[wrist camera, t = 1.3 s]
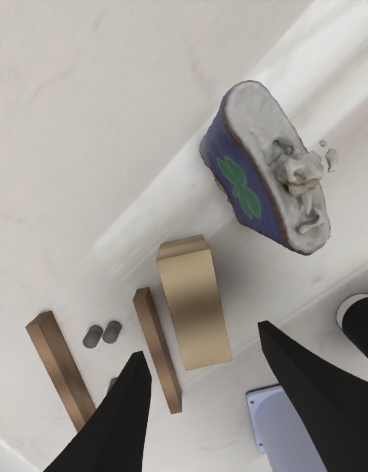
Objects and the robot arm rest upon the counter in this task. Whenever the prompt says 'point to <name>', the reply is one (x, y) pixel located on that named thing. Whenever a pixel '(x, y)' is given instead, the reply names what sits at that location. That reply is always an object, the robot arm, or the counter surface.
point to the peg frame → (62, 363)
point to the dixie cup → (355, 320)
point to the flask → (268, 169)
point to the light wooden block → (194, 302)
